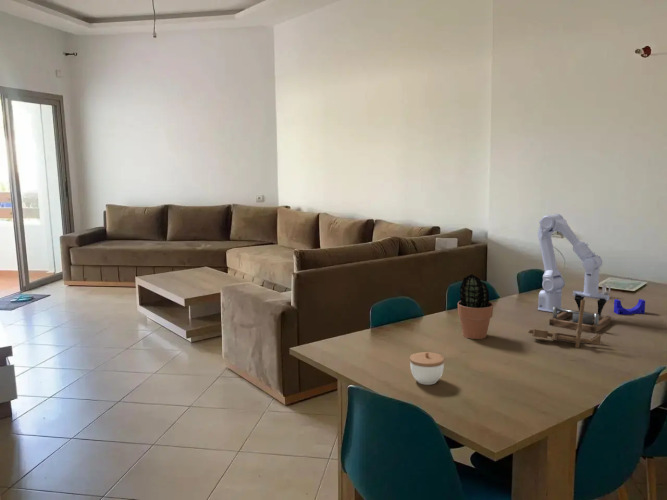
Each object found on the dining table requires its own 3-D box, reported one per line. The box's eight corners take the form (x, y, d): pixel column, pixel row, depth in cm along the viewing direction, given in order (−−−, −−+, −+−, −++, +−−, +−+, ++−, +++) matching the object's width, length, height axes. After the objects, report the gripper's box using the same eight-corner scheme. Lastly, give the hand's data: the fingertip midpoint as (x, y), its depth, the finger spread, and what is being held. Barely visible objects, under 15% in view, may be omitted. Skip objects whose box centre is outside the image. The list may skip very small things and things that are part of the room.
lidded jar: (406, 375, 180) (406, 347, 179) (438, 373, 181) (439, 346, 179) (414, 388, 169) (414, 359, 168) (448, 386, 170) (448, 357, 169)
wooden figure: (606, 303, 199) (533, 292, 208) (600, 352, 198) (527, 339, 207) (601, 303, 213) (533, 293, 221) (595, 349, 212) (527, 337, 220)
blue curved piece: (617, 314, 245) (618, 301, 244) (613, 312, 250) (614, 299, 249) (646, 314, 244) (647, 301, 243) (641, 312, 248) (642, 299, 248)
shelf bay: (549, 325, 232) (549, 319, 231) (566, 315, 246) (566, 309, 245) (594, 333, 219) (595, 327, 219) (610, 322, 233) (610, 316, 233)
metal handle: (551, 323, 234) (552, 307, 232) (553, 322, 235) (554, 306, 234) (597, 331, 221) (598, 314, 220) (598, 330, 222) (599, 313, 221)
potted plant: (493, 341, 211) (495, 278, 208) (457, 340, 214) (458, 277, 210) (491, 331, 225) (492, 271, 221) (456, 330, 227) (457, 270, 224)
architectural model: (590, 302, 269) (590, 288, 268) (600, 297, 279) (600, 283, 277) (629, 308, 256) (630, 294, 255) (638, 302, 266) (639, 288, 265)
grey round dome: (569, 322, 235) (569, 314, 234) (576, 318, 240) (576, 310, 240) (589, 326, 229) (589, 318, 229) (595, 322, 235) (596, 314, 234)
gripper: (570, 282, 241) (569, 313, 243) (606, 287, 231) (604, 318, 233) (576, 280, 246) (575, 309, 248) (611, 284, 236) (609, 315, 238)
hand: (589, 314), depth 241 cm, fingers open, 7 cm apart
